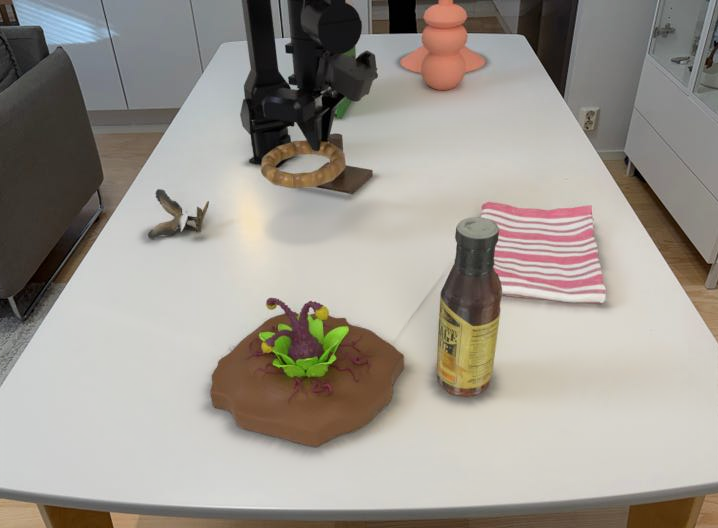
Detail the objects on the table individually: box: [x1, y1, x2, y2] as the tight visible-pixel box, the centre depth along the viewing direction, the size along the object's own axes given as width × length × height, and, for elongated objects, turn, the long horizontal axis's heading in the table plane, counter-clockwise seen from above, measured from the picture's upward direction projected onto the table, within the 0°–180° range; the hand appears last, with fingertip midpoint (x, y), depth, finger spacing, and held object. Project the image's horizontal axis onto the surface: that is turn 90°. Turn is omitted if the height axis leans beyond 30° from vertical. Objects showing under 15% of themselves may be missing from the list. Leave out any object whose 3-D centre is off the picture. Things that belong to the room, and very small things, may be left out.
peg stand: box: [315, 133, 374, 195], centre depth 117 cm, size 9×9×8 cm
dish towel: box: [479, 201, 607, 305], centre depth 97 cm, size 17×23×4 cm
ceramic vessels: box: [400, 0, 486, 91], centre depth 161 cm, size 35×21×19 cm, turn 175°
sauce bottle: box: [436, 216, 503, 397], centre depth 71 cm, size 6×6×20 cm
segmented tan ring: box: [260, 139, 346, 190], centre depth 98 cm, size 12×12×2 cm
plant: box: [209, 297, 405, 447], centre depth 75 cm, size 20×20×11 cm
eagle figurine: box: [147, 188, 210, 239], centre depth 105 cm, size 8×7×9 cm
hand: (320, 147), depth 102 cm, fingers closed on segmented tan ring, 2 cm apart
